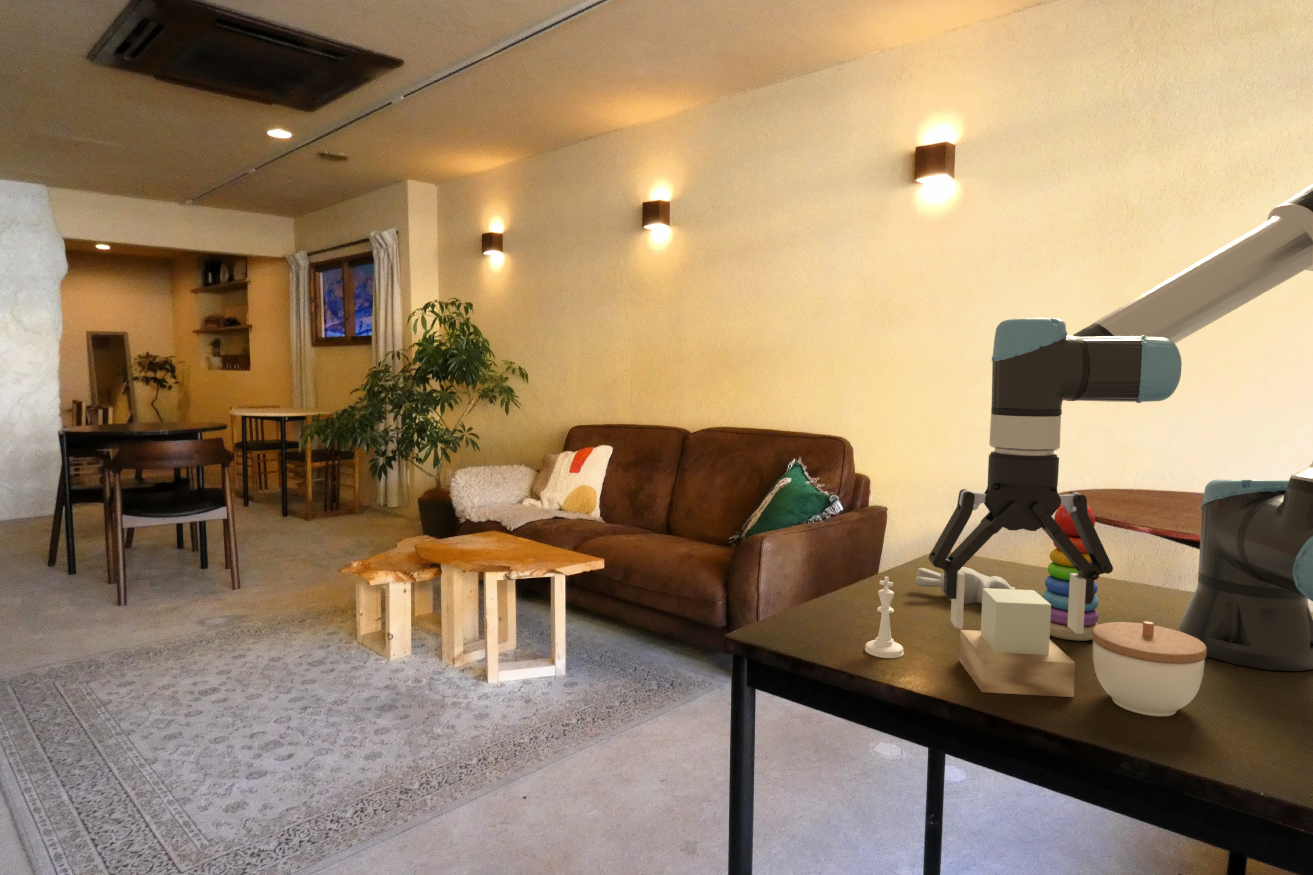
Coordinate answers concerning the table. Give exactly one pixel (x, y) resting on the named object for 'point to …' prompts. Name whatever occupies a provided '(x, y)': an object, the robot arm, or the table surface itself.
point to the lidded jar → (1148, 666)
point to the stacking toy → (1067, 583)
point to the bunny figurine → (972, 583)
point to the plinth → (1016, 669)
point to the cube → (1015, 621)
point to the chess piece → (885, 627)
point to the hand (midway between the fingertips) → (1015, 627)
